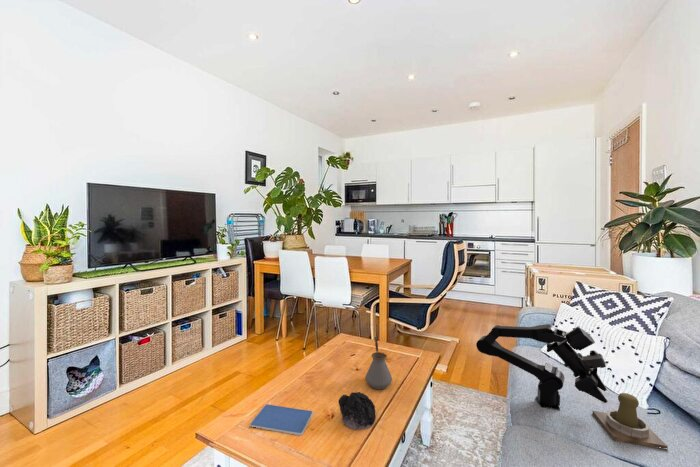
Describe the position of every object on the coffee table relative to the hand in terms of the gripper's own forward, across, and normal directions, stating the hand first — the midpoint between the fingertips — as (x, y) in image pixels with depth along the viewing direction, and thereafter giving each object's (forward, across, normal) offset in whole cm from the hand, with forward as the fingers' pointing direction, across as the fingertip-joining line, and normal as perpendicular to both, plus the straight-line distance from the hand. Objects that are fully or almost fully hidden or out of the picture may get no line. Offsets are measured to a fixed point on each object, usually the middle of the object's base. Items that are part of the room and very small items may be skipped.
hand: (606, 396), depth 106 cm
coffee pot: (-48, -27, +63) cm, 83 cm away
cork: (+10, 0, +2) cm, 10 cm away
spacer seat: (+11, 0, +3) cm, 11 cm away
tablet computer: (-55, -72, +70) cm, 115 cm away
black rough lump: (-41, -54, +56) cm, 88 cm away
